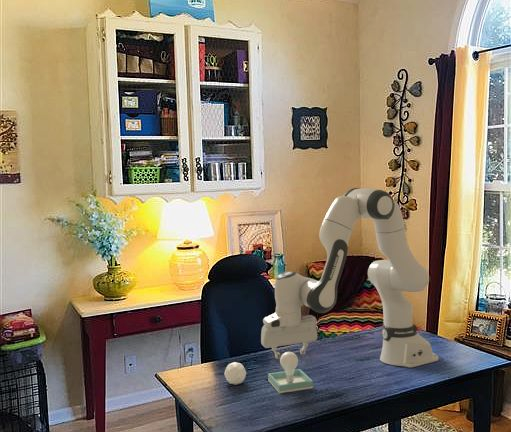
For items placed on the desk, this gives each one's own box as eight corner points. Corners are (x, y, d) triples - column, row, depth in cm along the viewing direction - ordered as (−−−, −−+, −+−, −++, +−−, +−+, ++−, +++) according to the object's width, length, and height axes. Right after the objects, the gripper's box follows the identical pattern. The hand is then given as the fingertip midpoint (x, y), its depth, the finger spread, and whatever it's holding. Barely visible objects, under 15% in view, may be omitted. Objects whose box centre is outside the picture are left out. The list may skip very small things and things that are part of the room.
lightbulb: (288, 386, 200) (287, 355, 200) (277, 382, 206) (275, 352, 205) (302, 382, 204) (301, 351, 204) (291, 378, 209) (289, 348, 209)
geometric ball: (229, 391, 208) (217, 372, 210) (247, 378, 212) (234, 360, 213) (235, 387, 201) (222, 367, 203) (253, 374, 205) (240, 355, 207)
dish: (300, 375, 213) (300, 369, 213) (313, 388, 201) (312, 380, 201) (268, 380, 209) (268, 373, 209) (279, 393, 197) (279, 385, 197)
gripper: (312, 312, 209) (314, 349, 211) (258, 319, 204) (260, 357, 205) (319, 316, 203) (321, 354, 204) (263, 324, 197) (265, 363, 199)
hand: (290, 356), depth 205 cm, fingers open, 8 cm apart
